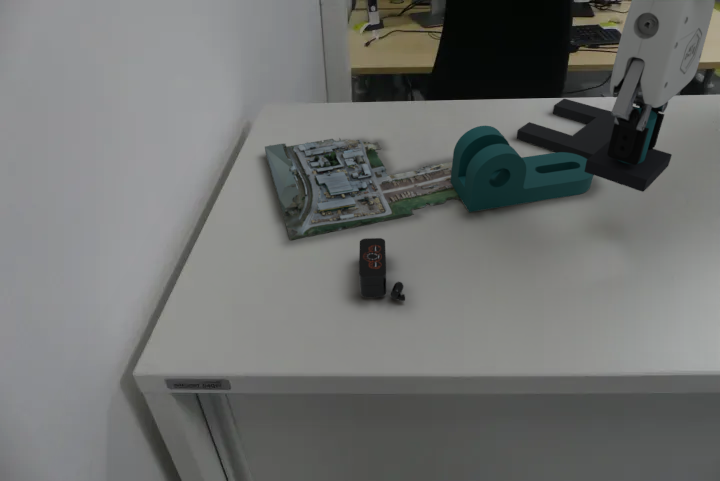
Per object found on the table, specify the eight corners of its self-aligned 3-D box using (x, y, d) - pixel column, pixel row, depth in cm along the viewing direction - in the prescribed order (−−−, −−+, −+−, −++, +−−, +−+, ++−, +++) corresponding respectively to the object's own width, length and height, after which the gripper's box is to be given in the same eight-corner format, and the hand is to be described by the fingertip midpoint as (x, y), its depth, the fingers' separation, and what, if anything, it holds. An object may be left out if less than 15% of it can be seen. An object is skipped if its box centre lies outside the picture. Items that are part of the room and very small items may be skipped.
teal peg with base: (610, 148, 64) (623, 95, 60) (668, 166, 60) (686, 110, 56) (583, 171, 61) (595, 117, 57) (643, 192, 57) (660, 135, 53)
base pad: (562, 106, 92) (564, 98, 91) (635, 127, 85) (638, 118, 84) (516, 138, 84) (517, 129, 83) (592, 164, 77) (594, 155, 76)
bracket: (469, 212, 69) (476, 157, 64) (450, 181, 74) (455, 129, 69) (600, 191, 72) (617, 137, 67) (574, 163, 77) (588, 111, 72)
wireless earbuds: (360, 305, 58) (358, 282, 56) (361, 261, 64) (359, 238, 62) (405, 304, 58) (405, 281, 56) (402, 259, 63) (401, 237, 61)
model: (517, 193, 73) (519, 182, 72) (290, 240, 67) (288, 229, 66) (453, 123, 89) (454, 113, 88) (266, 156, 84) (264, 146, 83)
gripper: (691, -6, 41) (632, 199, 53) (760, -52, 50) (696, 133, 62) (594, -19, 46) (559, 173, 57) (673, -60, 54) (628, 114, 66)
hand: (631, 150), depth 59 cm, fingers closed on teal peg with base, 3 cm apart
